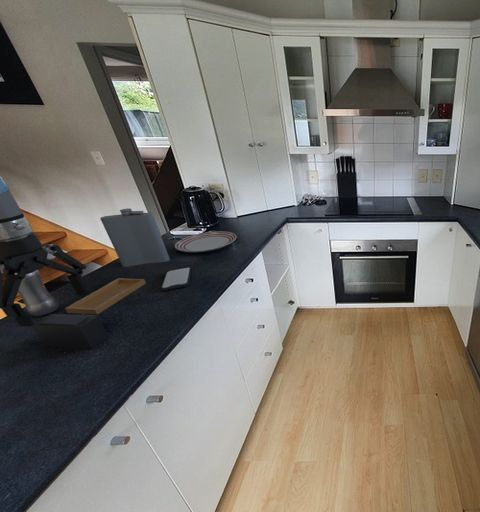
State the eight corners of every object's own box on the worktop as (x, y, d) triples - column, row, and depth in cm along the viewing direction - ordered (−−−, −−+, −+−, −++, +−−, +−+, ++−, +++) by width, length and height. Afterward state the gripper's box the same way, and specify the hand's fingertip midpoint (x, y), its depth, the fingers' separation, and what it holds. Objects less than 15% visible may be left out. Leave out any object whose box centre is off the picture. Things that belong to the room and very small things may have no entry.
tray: (67, 313, 91) (64, 308, 91) (120, 282, 109) (118, 278, 108) (97, 314, 91) (94, 309, 90) (146, 283, 109) (144, 279, 108)
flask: (171, 257, 129) (152, 206, 118) (168, 261, 125) (148, 209, 114) (126, 262, 124) (101, 209, 113) (121, 267, 120) (95, 212, 109)
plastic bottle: (38, 309, 93) (2, 257, 84) (65, 304, 96) (33, 253, 87) (27, 321, 88) (-13, 266, 79) (56, 315, 90) (21, 262, 82)
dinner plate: (199, 235, 155) (198, 229, 153) (247, 236, 154) (245, 230, 152) (162, 256, 130) (160, 250, 128) (218, 258, 129) (217, 251, 128)
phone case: (167, 274, 115) (161, 292, 103) (166, 271, 115) (160, 289, 102) (192, 269, 119) (189, 286, 107) (191, 266, 119) (188, 283, 106)
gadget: (45, 346, 78) (29, 324, 74) (65, 334, 82) (50, 312, 79) (92, 349, 77) (78, 326, 74) (109, 336, 82) (96, 315, 78)
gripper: (-52, 261, 54) (12, 342, 63) (80, 220, 76) (113, 284, 86) (-87, 260, 54) (-18, 340, 63) (55, 220, 76) (90, 284, 86)
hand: (57, 308), depth 75 cm, fingers open, 13 cm apart
